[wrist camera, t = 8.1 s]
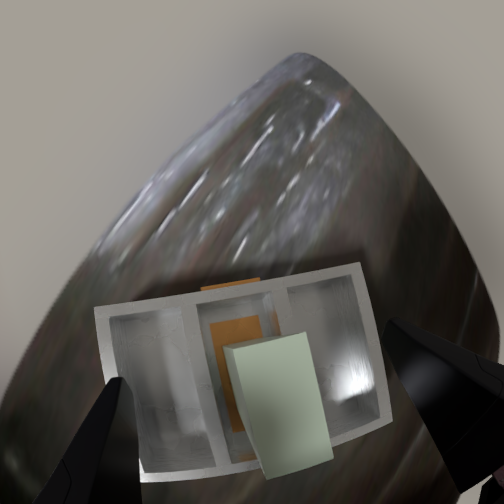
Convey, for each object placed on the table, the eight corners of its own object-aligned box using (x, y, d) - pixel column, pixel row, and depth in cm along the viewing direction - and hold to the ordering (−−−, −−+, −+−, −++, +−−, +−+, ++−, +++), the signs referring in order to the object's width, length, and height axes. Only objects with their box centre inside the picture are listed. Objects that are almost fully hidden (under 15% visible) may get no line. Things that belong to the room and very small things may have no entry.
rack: (363, 411, 17) (392, 421, 14) (147, 459, 14) (134, 482, 11) (334, 272, 20) (358, 256, 16) (115, 310, 17) (93, 301, 14)
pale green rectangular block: (269, 400, 16) (333, 458, 7) (237, 408, 16) (266, 479, 6) (254, 338, 17) (305, 331, 8) (221, 345, 17) (232, 349, 7)
